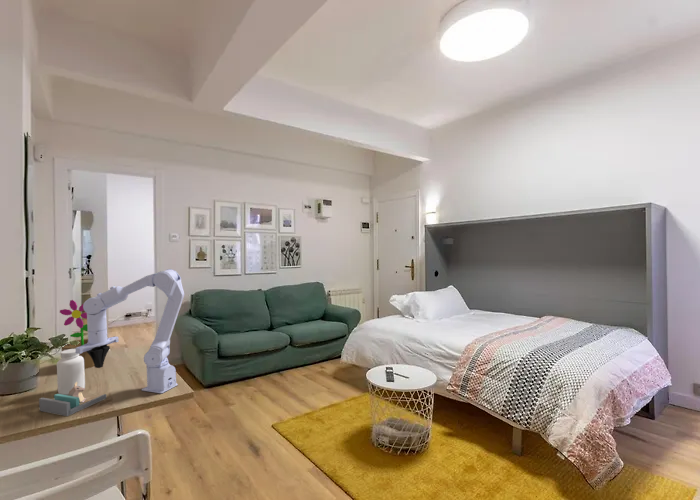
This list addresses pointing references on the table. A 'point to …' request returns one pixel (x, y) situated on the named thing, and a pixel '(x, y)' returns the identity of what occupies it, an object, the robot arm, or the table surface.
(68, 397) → the block
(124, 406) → the table surface
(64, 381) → the pill bottle
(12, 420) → the table surface
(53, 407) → the tray
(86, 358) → the flowerpot
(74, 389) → the mouse figurine
